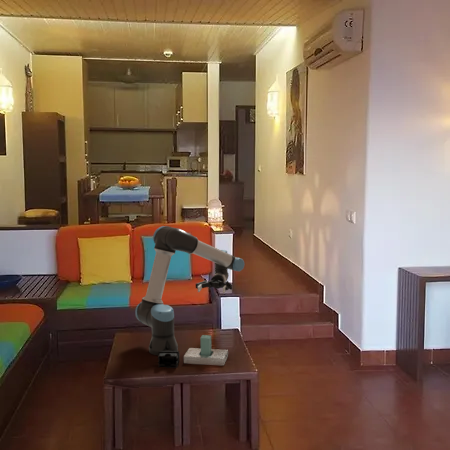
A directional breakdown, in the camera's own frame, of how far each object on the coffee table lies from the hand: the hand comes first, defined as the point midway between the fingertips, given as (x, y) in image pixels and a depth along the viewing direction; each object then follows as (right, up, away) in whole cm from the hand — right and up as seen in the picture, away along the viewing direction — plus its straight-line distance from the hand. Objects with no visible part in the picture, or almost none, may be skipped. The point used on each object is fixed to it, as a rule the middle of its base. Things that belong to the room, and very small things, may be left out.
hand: (210, 290), depth 302 cm
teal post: (-2, -33, -18) cm, 37 cm away
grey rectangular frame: (-2, -33, -18) cm, 37 cm away
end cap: (-20, -34, -24) cm, 46 cm away
